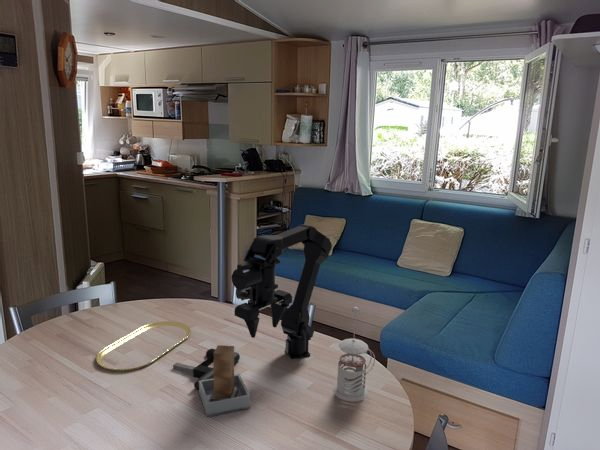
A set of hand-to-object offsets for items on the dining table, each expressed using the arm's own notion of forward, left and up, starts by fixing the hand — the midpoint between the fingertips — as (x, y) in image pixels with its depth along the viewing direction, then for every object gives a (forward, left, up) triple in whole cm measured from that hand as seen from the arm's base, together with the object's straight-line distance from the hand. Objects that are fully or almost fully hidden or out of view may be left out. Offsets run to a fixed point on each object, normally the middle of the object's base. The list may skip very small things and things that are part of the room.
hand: (263, 332), depth 133 cm
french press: (-21, +17, -13) cm, 30 cm away
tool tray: (+14, +10, -13) cm, 22 cm away
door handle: (+16, -7, -14) cm, 22 cm away
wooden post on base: (+14, +10, -12) cm, 21 cm away
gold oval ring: (+31, -28, -14) cm, 44 cm away
